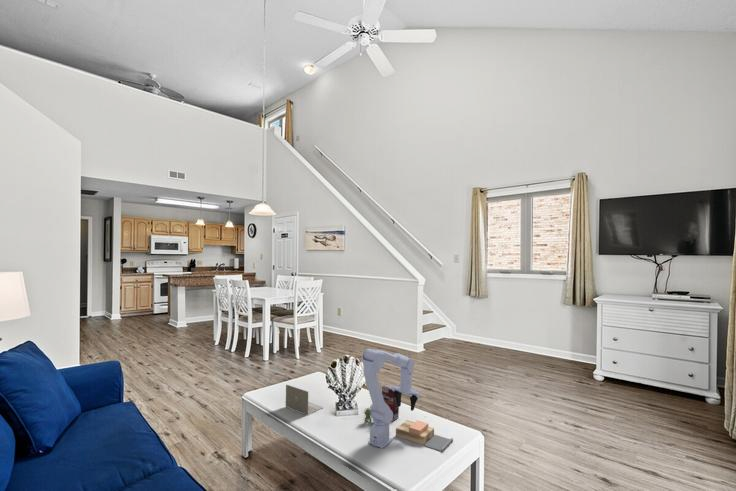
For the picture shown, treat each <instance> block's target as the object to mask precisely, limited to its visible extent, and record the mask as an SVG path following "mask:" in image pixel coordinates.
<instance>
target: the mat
mask: <svg viewBox="0 0 736 491" xmlns="http://www.w3.org/2000/svg"><path fill="white" fill-rule="evenodd" d="M453 441H454V438H453V437H451V438H447V437H444V436H441V435H439V434H438V435H437V434H434V436H433V437H432V438H431V439H430V440H429V441H428V442H427V443H426V444H424V445H423V446H424V447H427V448H429V449H432V450H435V451H438V452H441V453H443V452H444V451H445V450H447V448H448V447H449V446H450V445H451V444H452V443H453Z"/></svg>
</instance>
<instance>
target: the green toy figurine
mask: <svg viewBox="0 0 736 491" xmlns="http://www.w3.org/2000/svg"><path fill="white" fill-rule="evenodd" d="M362 413H363V414H364V415H363V423H368V424H370V423H372V422H373V418H372V417H371V409H370V407H368V408H364V409H363V410H362Z"/></svg>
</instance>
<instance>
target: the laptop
mask: <svg viewBox="0 0 736 491" xmlns="http://www.w3.org/2000/svg"><path fill="white" fill-rule="evenodd" d="M285 407H286V408H287V409H290V410H293V411H295V412H298V413H301V414H303V415H306V416H310V415H311V414H314V413H316V412H318V411H319V410H322V409H323V408H324V406H321V405H318V404H316V403H313V402H310V401H309V391H306V390H304V389H301V388H298V387H295V386H291V385H289V384H286V385H285Z"/></svg>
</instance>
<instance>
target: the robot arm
mask: <svg viewBox="0 0 736 491" xmlns="http://www.w3.org/2000/svg"><path fill="white" fill-rule="evenodd" d="M360 358H361V362H362V364H363V378H364V380H365V383H366V387H367V390H368V392H369V393H368V394H369V396H370V400H371V405H370V406H369V408H370V409H371V417H372V418H373V419H372V422H373V425H372V426H371V427H370V429H369V441H368V444H369V445H372V446H375V447H377V448H381V449H383V448H385V447H386V446H387V445H388V444H390V443H392V442H393V440H394V438H391V437H390V424H391V422H392V421H393V420H392V419H393V412H392V411H391V410H390V407H389V406H388V405H387V404H386V403H385V402H384V398H383V395H382V387H381V386H380V383H379V382H380V381H379V379H378V376H377V374H378V373H380V371H381V369H383V368H382V367H383V366H384V364H385V363H386V362H387V361H390V362H391V365H393V366H396V367H399V368H400V382H399V383H400V384H399V385H400V386H392V387H393V391H395V392H394V393H393V395H394V397H395V399H396V402H397V406H398V407H399V408H400V407H401V406H402V394H404V395H409V396H410V397H409V400H410V401H409V402H410V411H411V412H413V411H414V410H415V407H416V403H417V401H418V399H419V397H421V396H420V395H421V393H420V392H419V391H416V390H415V389H412V385H413V384H412V382H413V381H412V380H413V372H414V367H415V361H414V359H413V358H411V357H409V356H408V357H407V355H405V354H402V353H400V352H397V353H393V354H392V353H389V352H387V351H384V350H381V349H373V348H366V349H364V350H363V353H362V355H361V357H360Z"/></svg>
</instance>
